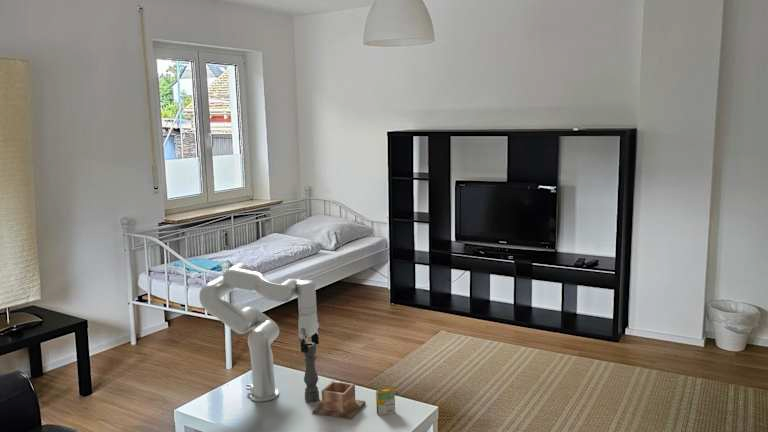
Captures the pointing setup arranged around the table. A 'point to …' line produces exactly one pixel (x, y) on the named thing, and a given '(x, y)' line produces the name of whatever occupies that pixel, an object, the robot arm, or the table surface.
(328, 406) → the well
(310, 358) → the candle holder
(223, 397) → the table surface
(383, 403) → the crayon box
